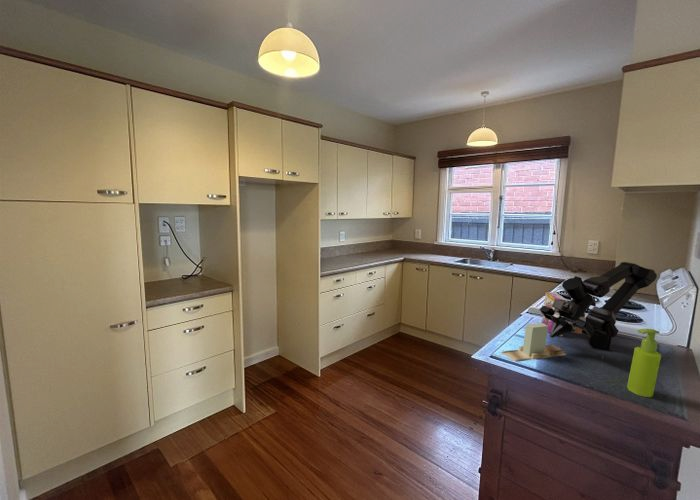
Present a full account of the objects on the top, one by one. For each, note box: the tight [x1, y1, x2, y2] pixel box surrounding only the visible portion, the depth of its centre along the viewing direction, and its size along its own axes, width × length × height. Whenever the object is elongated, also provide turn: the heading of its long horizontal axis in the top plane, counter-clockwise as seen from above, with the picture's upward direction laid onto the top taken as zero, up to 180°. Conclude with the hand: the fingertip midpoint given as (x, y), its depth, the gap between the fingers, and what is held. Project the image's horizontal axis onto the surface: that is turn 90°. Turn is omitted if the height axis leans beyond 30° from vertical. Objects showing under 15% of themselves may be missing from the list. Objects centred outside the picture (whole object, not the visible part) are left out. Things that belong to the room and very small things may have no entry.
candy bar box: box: [541, 291, 569, 338], centre depth 139 cm, size 11×5×16 cm, turn 168°
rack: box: [500, 344, 567, 363], centre depth 117 cm, size 24×7×2 cm, turn 106°
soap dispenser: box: [626, 328, 662, 398], centre depth 95 cm, size 6×7×20 cm
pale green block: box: [522, 322, 548, 356], centre depth 116 cm, size 7×3×11 cm, turn 106°
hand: (550, 336), depth 118 cm, fingers closed
